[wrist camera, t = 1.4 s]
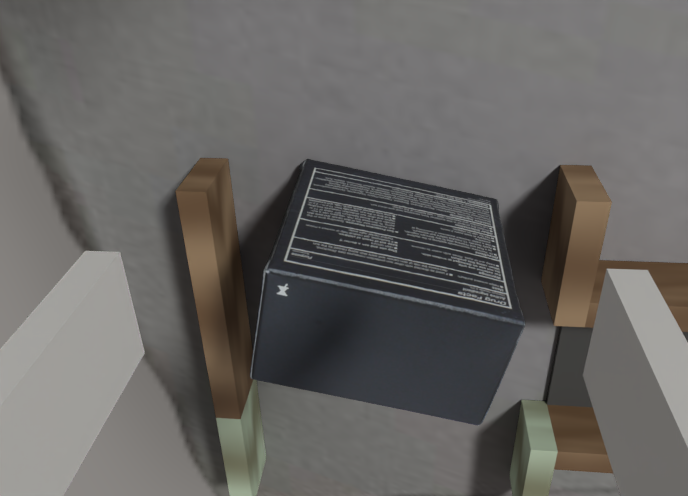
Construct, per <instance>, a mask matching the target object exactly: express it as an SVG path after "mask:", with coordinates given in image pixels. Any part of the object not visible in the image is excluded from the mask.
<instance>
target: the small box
mask: <svg viewBox="0 0 688 496" xmlns="http://www.w3.org/2000/svg"><path fill="white" fill-rule="evenodd" d="M299 170H300V174H299V177H298V180H297V183H296V185H295V188H294V191H293V193H292V196H291V199H290V201H289V204H288V207H287V209H286V213H285V215H284V218H283V221H282V224H281V227H280V229H279V232H278V235H277V238H276V241H275V243H274V247H273V249H272V252H271V255H270V258H269V260H268V262H267V264H266V266H265V268H264V270H263V279H262V286H261V295H260V302H259V309H258V316H257V326H256V332H255V338H254V345H253V354H252V362H251V367H250V377H251V379H254V380H259V381H264V382H270V383H274V384H279V385H283V386H288V387H294V388H299V389H304V390H309V391H314V392H319V393H324V394H329V395H334V396H338V397H343V398H348V399H353V400H358V401H363V402H368V403H372V404H377V405H382V406H387V407H392V408H397V409H402V410H407V411H411V412H416V413H421V414H426V415H431V416H436V417H440V418H445V419H450V420H454V421H459V422H464V423H469V424H473V425H480V424H481V423H482V422H483V420H484V418H485V416H486V414H487V412H488V410H489V408H490V406H491V403H492V401H493V399H494V396H495V394H496V392H497V389H498V387H499V385H500V383H501V381H502V378H503V376H504V374H505V371H506V369H507V366H508V364H509V362H510V360H511V358H512V355H513V353H514V350H515V348H516V346H517V343H518V341H519V338H520V336H521V334H522V332H523V329H524V326H525V321H524V317H523V313H522V310H521V309H520V307H519V300H518V297H517V294H516V290H515V285H514V281H513V275H512V269H511V265H510V261H509V257H508V252H507V247H506V243H505V238H504V235H503V228H502V224H501V220H500V215H499V205H498V201H497V200H496V199H493V198H488V197H483V196H479V195H474V194H470V193H466V192H461V191H456V190H451V189H447V188H442V187H437V186H433V185H428V184H423V183H419V182H414V181H409V180H404V179H400V178H395V177H390V176H385V175H381V174H377V173H371V172H367V171H362V170H358V169H353V168H348V167H343V166H339V165H334V164H328V163H324V162H318V161H314V160H310V159H307V160H306V161H304V162H303V163H302V164H300V169H299Z"/></svg>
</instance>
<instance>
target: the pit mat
mask: <svg viewBox="0 0 688 496" xmlns="http://www.w3.org/2000/svg"><path fill="white" fill-rule="evenodd" d="M592 332H593V328H590V327H568V326H560V332H559V337H558V342H557V347H556V353H555V358H554V363H553V368H552V373H551V379H550V384H549V389H548V394H547V400H546V403H547V405H560V406H577V407H593V406H592V403H591V400H590V397H589V393H588V390H587V387H586V384H585V381H584V377H583V372H584V368H585V363H586V359H587V354H588V350H589V345H590V341H591V336H592ZM682 333H683V335H684V336H685V338H686V340H687V342H688V332H682Z"/></svg>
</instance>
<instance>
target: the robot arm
mask: <svg viewBox="0 0 688 496" xmlns="http://www.w3.org/2000/svg"><path fill="white" fill-rule="evenodd" d="M144 353H145V352H144V348H143V344H142V340H141V336H140V331H139V327H138V323H137V319H136V315H135V311H134V307H133V303H132V299H131V295H130V291H129V287H128V283H127V279H126V274H125V270H124V266H123V262H122V258H121V254H120V252H104V251H85V252H84V253H83V254H82V255H81V256H80V258H79V259H78V260H77V261H76V262H75V263H74V265H73V266H72V267H71V268H70V269H69V270H68V271H67V273H66V274H65V275H64V276H63V277H62V278H61V280H60V281H59V282H58V283H57V284H56V286H54V288H53V289H52V290H51V291H50V292H49V293H48V295H47V296H46V297H45V298H44V299H43V300H42V301H41V303H40V304H39V305H38V306H37V307H36V308H35V309H34V311H33V312H32V313H31V314H30V315H29V316H28V318H27V319H26V320H25V321H24V322H23V323H22V324H21V326H20V327H19V328H18V329H17V330H16V331H15V333H14V334H13V335H12V336H11V337H10V338H9V340H8V341H7V342H6V343H5V344H4V345H3V346H2V348H1V349H0V496H64V494H65V493H66V491H67V489H68V487H69V486H70V484H71V482H72V480H73V479H74V477H75V475H76V473H77V471H78V470H79V468H80V466H81V464H82V462H83V461H84V459H85V457H86V456H87V454H88V452H89V450H90V449H91V447H92V445H93V443H94V441H95V440H96V438H97V436H98V434H99V433H100V431H101V429H102V427H103V426H104V424H105V422H106V420H107V419H108V417H109V415H110V413H111V412H112V410H113V408H114V406H115V404H116V403H117V401H118V399H119V397H120V396H121V394H122V392H123V390H124V389H125V387H126V385H127V383H128V382H129V380H130V378H131V376H132V374H133V373H134V371H135V369H136V367H137V366H138V364H139V362H140V360H141V359H142V357H143V355H144ZM583 377H584V381H585V384H586V387H587V390H588V393H589V397H590V400H591V403H592V406H593V409H594V413H595V416H596V419H597V422H598V425H599V429H600V432H601V435H602V438H603V441H604V445H605V448H606V451H607V454H608V458H609V461H610V464H611V467H612V470H613V474H614V477H615V480H616V483H617V486H618V490H619V493H620V496H688V342H687V340H686V338H685V336H684V335H683V333H682V331H681V329H680V327H679V326H678V324H677V322H676V320H675V318H674V317H673V315H672V313H671V311H670V309H669V307H668V306H667V304H666V302H665V300H664V298H663V297H662V295H661V293H660V291H659V289H658V288H657V286H656V284H655V282H654V280H653V279H652V277H651V275H650V273H649V271H648V270H633V269H606V274H605V278H604V283H603V287H602V292H601V296H600V301H599V305H598V310H597V314H596V319H595V323H594V328H593V332H592V336H591V341H590V345H589V350H588V354H587V359H586V363H585V368H584V372H583Z"/></svg>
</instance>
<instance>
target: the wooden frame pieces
mask: <svg viewBox="0 0 688 496" xmlns="http://www.w3.org/2000/svg"><path fill="white" fill-rule="evenodd" d="M175 192H176V197H177V203H178V208H179V214H180V220H181V225H182V231H183V236H184V242H185V248H186V253H187V259H188V264H189V270H190V275H191V281H192V287H193V292H194V298H195V303H196V309H197V315H198V320H199V326H200V331H201V337H202V343H203V348H204V354H205V359H206V365H207V371H208V376H209V382H210V387H211V393H212V399H213V404H214V410H215V415H216V421H217V427H218V432H219V438H220V443H221V449H222V454H223V460H224V466H225V471H226V477H227V482H228V488H229V494H230V496H256V495H257V492H258V488H259V484H260V480H261V476H262V472H263V469H264V465H265V461H266V452H265V444H264V436H263V428H262V420H261V413H260V405H259V397H258V389H257V381H256V380H254V379H251V377H250V367H251V362H252V354H253V350H252V342H251V334H250V326H249V318H248V311H247V303H246V295H245V287H244V279H243V271H242V264H241V256H240V248H239V240H238V232H237V224H236V216H235V209H234V201H233V193H232V185H231V177H230V169H229V162H228V159H224V158H200V159H199V161H198V162H197V163H196V165H195V166H194V167H193V169H192V170H191V171H190V173H189V174H188V175H187V177H186V178H185V179H184V181H183V182H182V183H181V185H180V186H179V187H178V188H177V190H176V191H175ZM611 203H612V202H611V200H610V198H609V196H608V195H607V193H606V191H605V189H604V187H603V186H602V184H601V182H600V180H599V179H598V177H597V175H596V173H595V171H594V170H593V168H592V166H583V165H560V169H559V176H558V182H557V188H556V194H555V200H554V206H553V212H552V218H551V224H550V230H549V237H548V243H547V249H546V255H545V261H544V267H543V273H542V279H541V283H542V286H543V290H544V293H545V297H546V300H547V304H548V307H549V311H550V314H551V318H552V321H553V325H554V326H568V327H590V328H594V323H595V319H596V314H597V310H598V305H599V301H600V296H601V292H602V287H603V283H604V278H605V274H606V269H633V270H648V271H649V273H650V275H651V277H652V279H653V280H654V282H655V284H656V286H657V288H658V289H659V291H660V293H661V295H662V297H663V298H664V300H665V302H666V304H667V306H668V307H669V309H670V311H671V313H672V315H673V317H674V318H675V320H676V322H677V324H678V326H679V327H680V329H681V331H682V332H688V263H663V262H634V261H604V260H599V259H600V254H601V250H602V245H603V240H604V236H605V231H606V227H607V222H608V217H609V213H610V208H611ZM554 469H557V470H572V471H587V472H602V473H613V470H612V467H611V464H610V461H609V458H608V454H607V451H606V448H605V445H604V441H603V438H602V435H601V432H600V429H599V425H598V422H597V419H596V416H595V413H594V409H593V407H577V406H560V405H547V403H546V401H532V400H522V401H521V407H520V413H519V419H518V425H517V432H516V438H515V444H514V450H513V456H512V462H511V468H510V474H509V475H510V482H511V489H512V496H548V494H549V490H550V485H551V481H552V476H553V471H554Z"/></svg>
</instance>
